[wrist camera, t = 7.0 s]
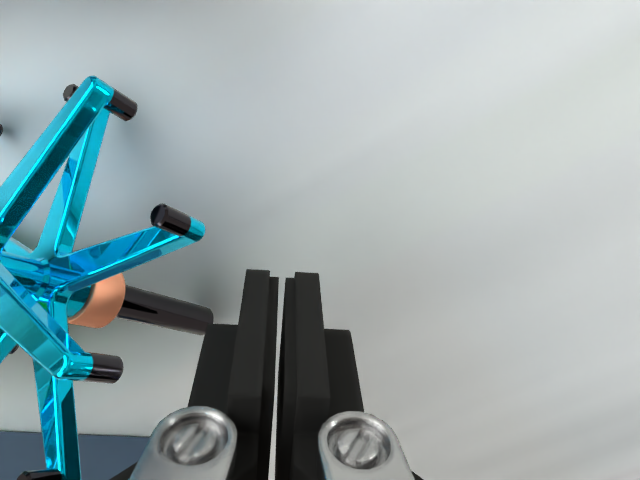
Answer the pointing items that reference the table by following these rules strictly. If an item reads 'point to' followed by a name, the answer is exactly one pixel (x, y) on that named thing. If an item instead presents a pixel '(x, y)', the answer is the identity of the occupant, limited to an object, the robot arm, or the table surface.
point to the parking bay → (94, 451)
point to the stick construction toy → (78, 270)
